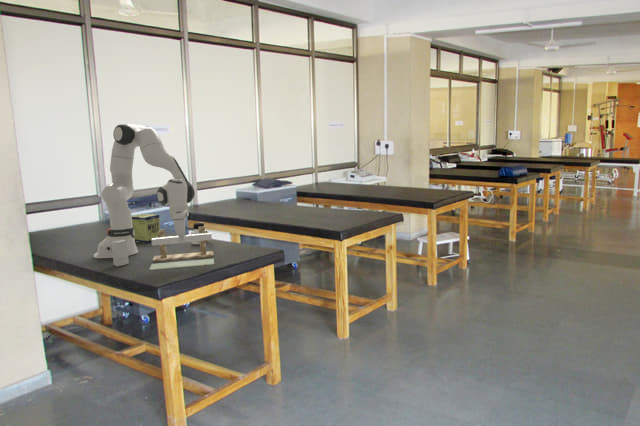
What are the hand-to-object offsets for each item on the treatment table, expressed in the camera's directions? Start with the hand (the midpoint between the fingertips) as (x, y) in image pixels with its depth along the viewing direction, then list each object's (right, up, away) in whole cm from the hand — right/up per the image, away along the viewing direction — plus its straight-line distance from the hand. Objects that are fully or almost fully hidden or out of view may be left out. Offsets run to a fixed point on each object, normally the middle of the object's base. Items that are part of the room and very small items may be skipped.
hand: (181, 240), depth 248 cm
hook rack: (-4, -9, +17) cm, 20 cm away
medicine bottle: (-3, -4, +50) cm, 50 cm away
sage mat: (0, -12, +2) cm, 12 cm away
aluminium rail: (0, -1, 0) cm, 1 cm away
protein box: (-38, -3, +62) cm, 73 cm away
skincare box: (-32, -13, +6) cm, 35 cm away
